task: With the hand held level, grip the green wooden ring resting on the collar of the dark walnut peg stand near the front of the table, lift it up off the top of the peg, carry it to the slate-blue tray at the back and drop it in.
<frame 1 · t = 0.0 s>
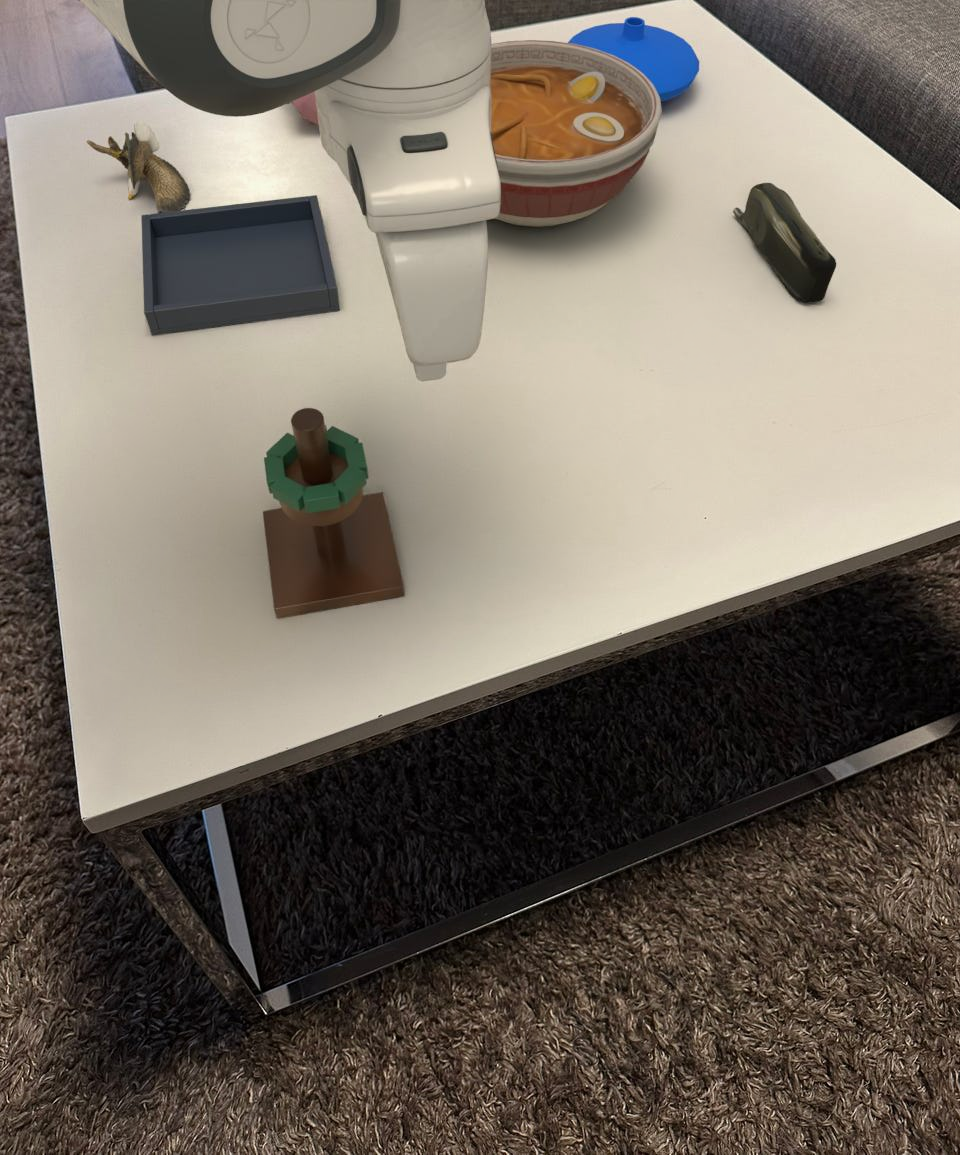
hand: (415, 322, 60), 17 cm above the table, tool pointing down, fingers open, 8 cm apart
tray: (240, 273, 89), on the table
peg stand: (332, 557, 70), on the table
ring: (317, 474, 62), point 9 cm above the table, touching peg stand
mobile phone: (774, 260, 92), on the table
video game controller: (313, 115, 106), on the table
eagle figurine: (150, 194, 97), on the table
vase: (625, 88, 111), on the table
bowl: (533, 196, 97), on the table
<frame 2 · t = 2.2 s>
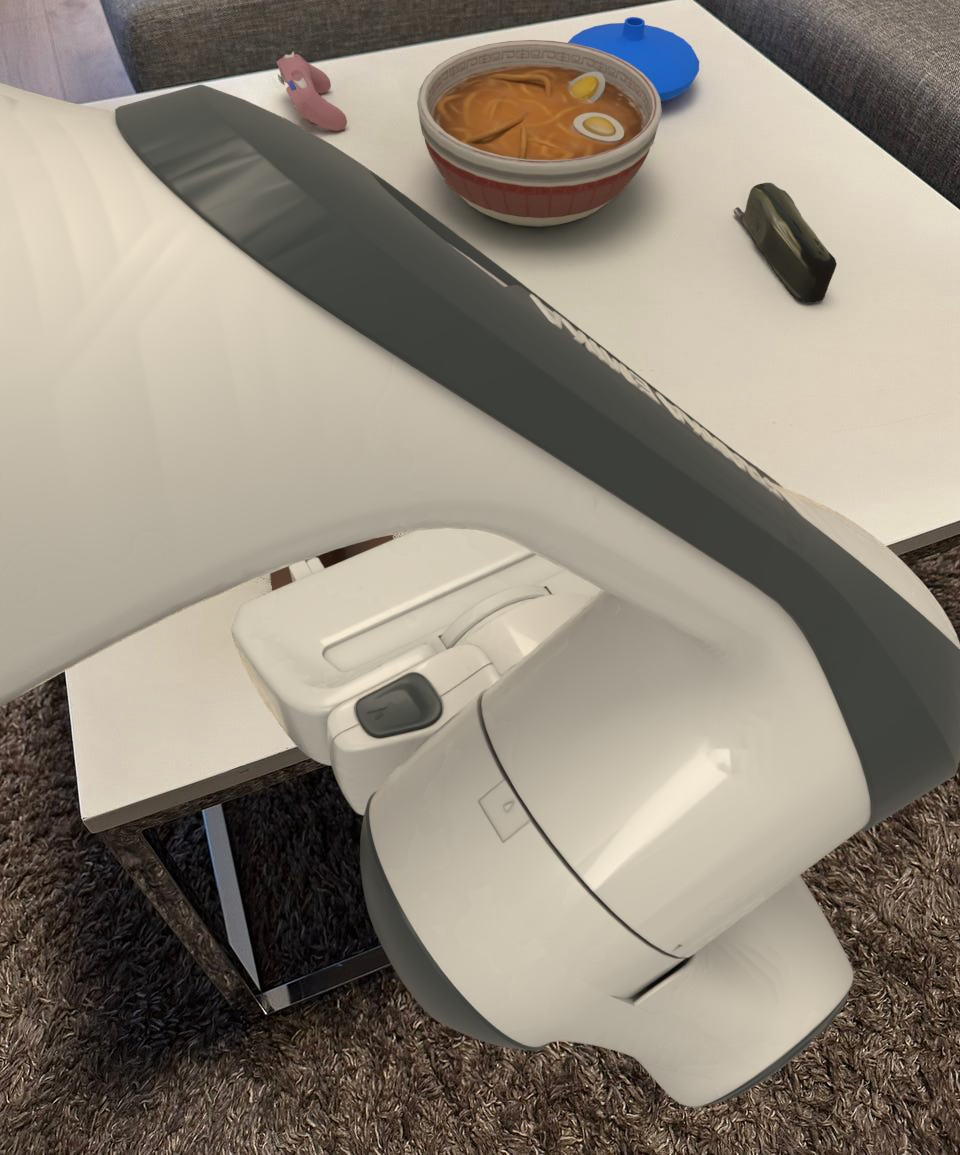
hand: (386, 480, 47), 20 cm above the table, tool horizontal, fingers open, 8 cm apart
nothing on the table moved.
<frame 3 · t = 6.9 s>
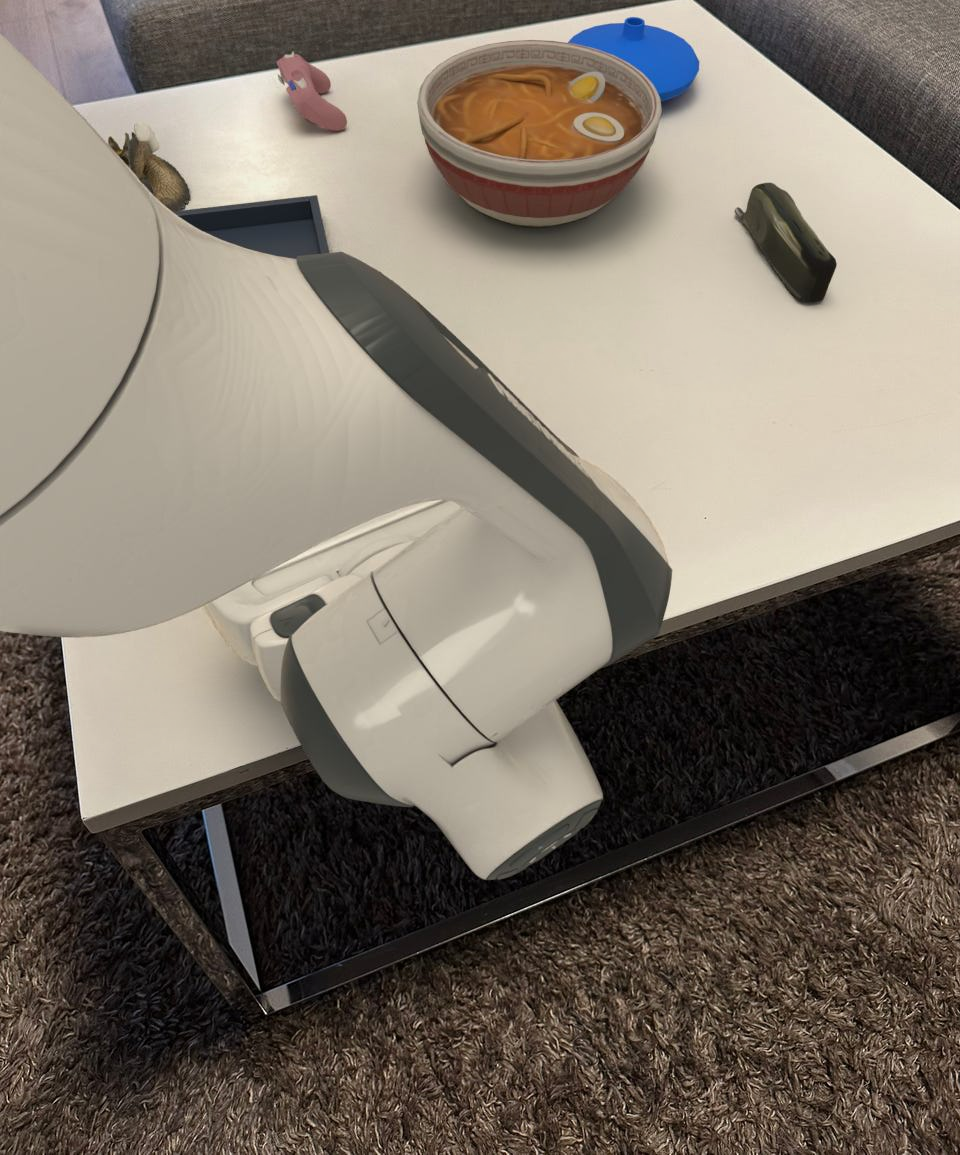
hand: (310, 459, 62), 10 cm above the table, tool horizontal, fingers closed on ring, 7 cm apart
ring: (317, 474, 62), point 9 cm above the table, touching gripper, peg stand
everything else where it was.
when the fingers open (4 cm above the table, at t = 20.4 s): ring drops 3 cm, resting on tray.
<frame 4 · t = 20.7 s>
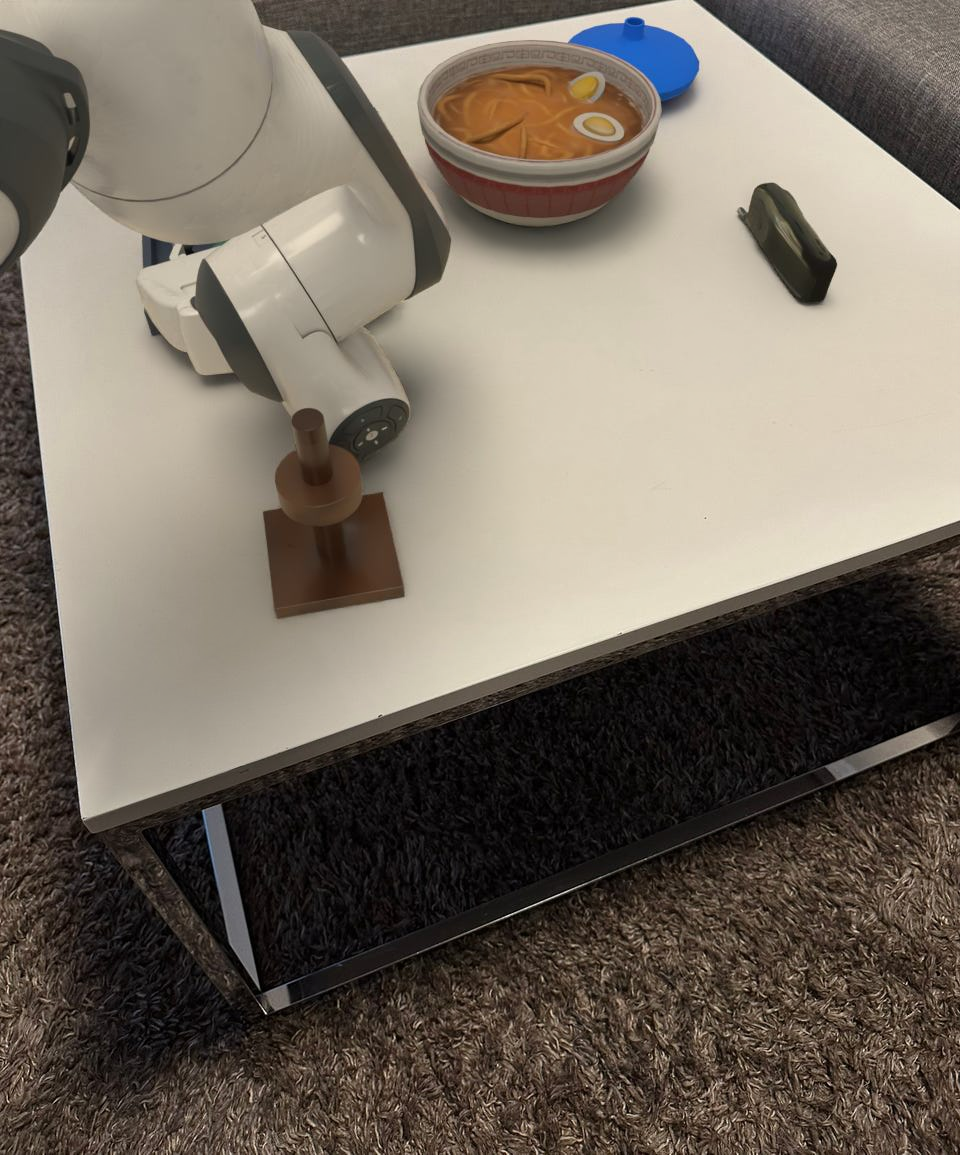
hand: (229, 225, 86), 4 cm above the table, tool horizontal, fingers open, 8 cm apart
ring: (241, 268, 89), resting on tray
everything else where it was.
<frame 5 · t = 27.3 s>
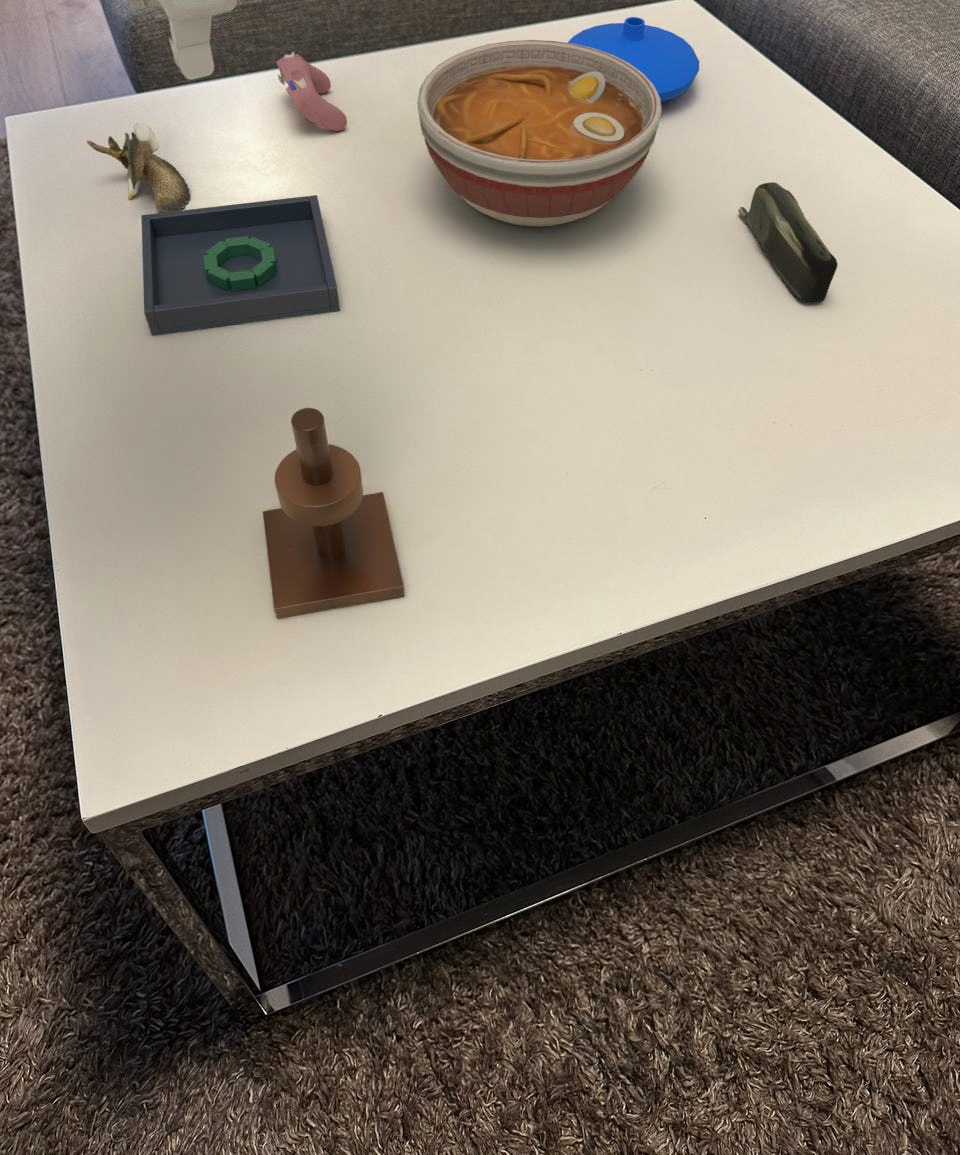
hand: (168, 36, 55), 29 cm above the table, tool pointing down, fingers open, 8 cm apart
nothing on the table moved.
at the end: ring inside the target area in the tray (0.2 cm from its centre), point 0.5 cm above the tray's base; the gripper is holding nothing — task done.
